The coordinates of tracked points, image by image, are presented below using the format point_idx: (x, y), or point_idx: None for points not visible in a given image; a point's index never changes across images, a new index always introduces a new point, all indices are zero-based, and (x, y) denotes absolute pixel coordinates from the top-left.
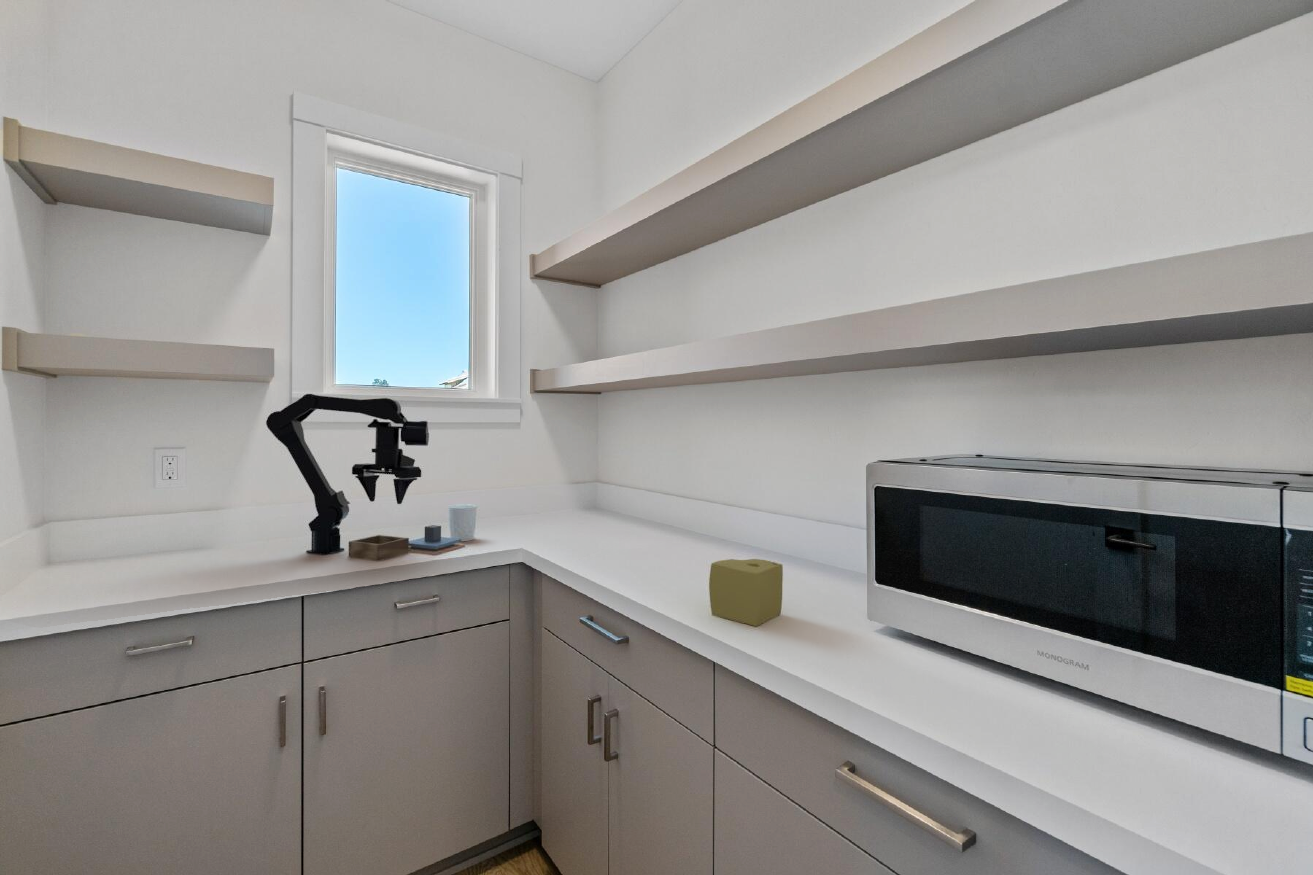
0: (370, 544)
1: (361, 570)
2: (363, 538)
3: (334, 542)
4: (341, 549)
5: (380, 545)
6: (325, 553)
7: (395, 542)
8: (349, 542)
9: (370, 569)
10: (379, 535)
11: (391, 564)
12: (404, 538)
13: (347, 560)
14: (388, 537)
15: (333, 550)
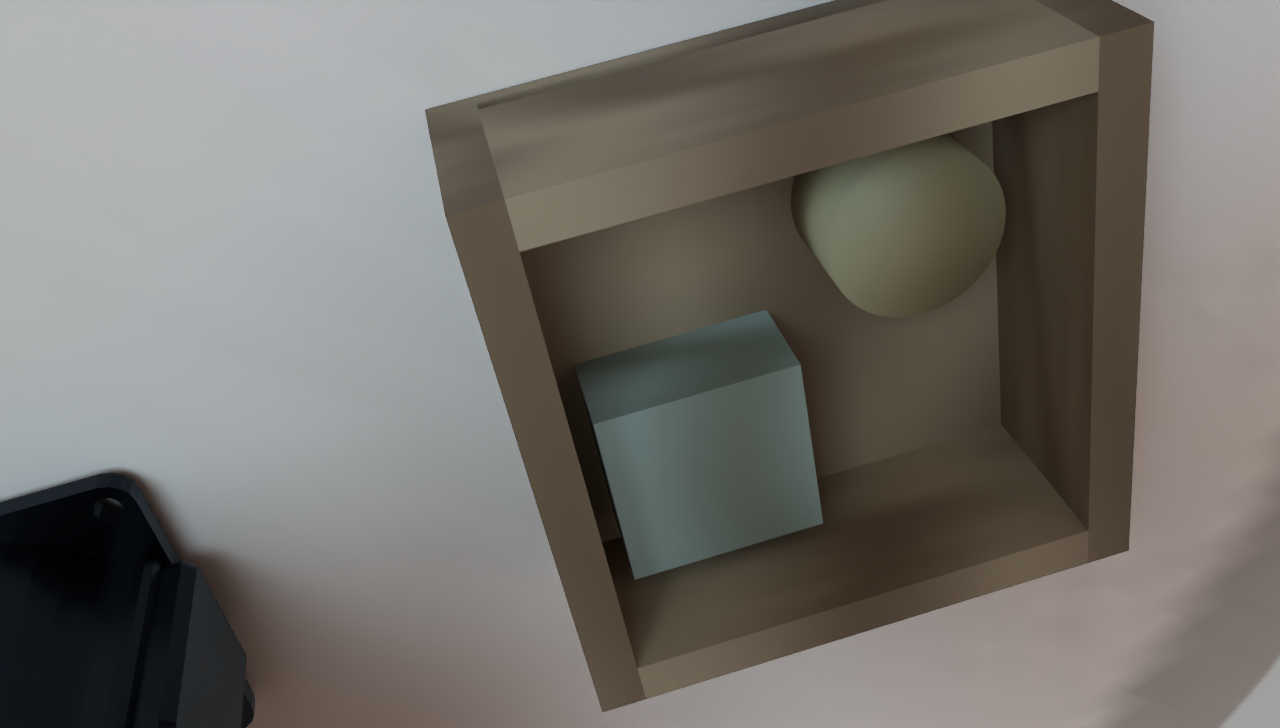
0: (975, 590)
1: (1149, 660)
2: (554, 519)
3: (225, 719)
4: (152, 527)
5: (1123, 533)
6: (251, 704)
7: (1130, 300)
8: (614, 697)
9: (1194, 604)
10: (513, 241)
11: (1243, 412)
12: (1112, 95)
13: None
14: (738, 182)
15: (237, 645)
